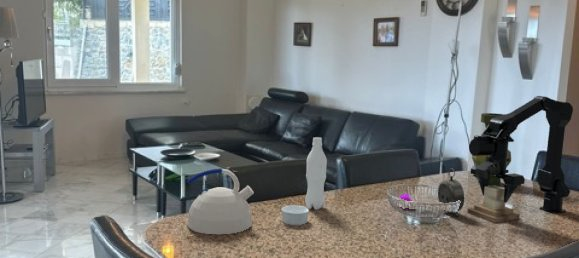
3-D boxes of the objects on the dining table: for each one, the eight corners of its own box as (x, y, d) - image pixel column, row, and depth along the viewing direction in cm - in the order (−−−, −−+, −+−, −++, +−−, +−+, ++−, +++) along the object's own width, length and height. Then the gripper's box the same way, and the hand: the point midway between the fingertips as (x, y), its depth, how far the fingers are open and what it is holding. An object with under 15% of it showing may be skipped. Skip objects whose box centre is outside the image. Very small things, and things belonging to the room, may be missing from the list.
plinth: (491, 209, 196) (492, 201, 195) (519, 218, 185) (520, 210, 185) (467, 212, 190) (468, 204, 190) (494, 222, 180) (495, 214, 179)
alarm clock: (464, 218, 184) (467, 171, 182) (449, 218, 183) (453, 172, 181) (447, 208, 195) (450, 164, 192) (433, 209, 193) (436, 165, 191)
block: (493, 204, 191) (494, 185, 190) (504, 208, 186) (506, 188, 185) (483, 206, 188) (484, 186, 187) (494, 210, 184) (496, 190, 183)
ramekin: (291, 216, 181) (291, 203, 181) (313, 221, 176) (314, 208, 176) (275, 222, 174) (276, 209, 173) (298, 228, 169) (298, 215, 168)
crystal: (395, 205, 197) (395, 193, 196) (408, 204, 198) (409, 192, 198) (401, 209, 192) (402, 197, 191) (415, 209, 193) (416, 196, 193)
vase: (472, 186, 229) (478, 115, 225) (467, 177, 245) (472, 111, 240) (513, 188, 226) (520, 117, 222) (505, 180, 242) (511, 113, 238)
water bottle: (301, 208, 189) (304, 138, 186) (308, 203, 196) (311, 135, 192) (321, 211, 187) (324, 140, 183) (327, 206, 193) (330, 137, 190)
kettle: (253, 235, 161) (254, 176, 159) (183, 235, 160) (183, 175, 157) (253, 215, 181) (254, 162, 179) (190, 214, 180) (190, 161, 177)
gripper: (460, 151, 189) (457, 194, 191) (504, 161, 173) (499, 208, 175) (483, 149, 194) (480, 191, 197) (527, 159, 178) (523, 205, 180)
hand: (494, 198), depth 187 cm, fingers open, 9 cm apart
